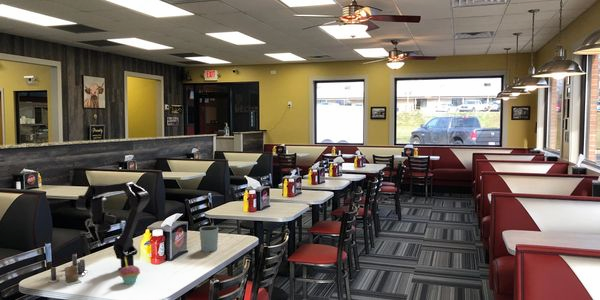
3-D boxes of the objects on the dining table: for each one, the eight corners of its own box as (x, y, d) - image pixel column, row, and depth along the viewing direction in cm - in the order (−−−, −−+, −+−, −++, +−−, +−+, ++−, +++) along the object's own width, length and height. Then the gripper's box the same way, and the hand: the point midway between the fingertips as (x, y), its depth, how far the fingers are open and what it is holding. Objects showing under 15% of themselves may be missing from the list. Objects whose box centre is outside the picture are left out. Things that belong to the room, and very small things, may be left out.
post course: (90, 274, 215) (90, 261, 214) (50, 283, 204) (49, 270, 203) (78, 265, 229) (77, 253, 229) (39, 273, 218) (38, 260, 217)
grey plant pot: (210, 246, 259) (209, 224, 258) (223, 249, 253) (222, 227, 252) (196, 250, 250) (195, 228, 250) (209, 253, 245) (208, 231, 244)
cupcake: (128, 287, 198) (126, 259, 197) (115, 283, 202) (114, 256, 201) (144, 280, 205) (143, 254, 204) (131, 277, 210) (130, 251, 209)
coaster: (81, 282, 205) (81, 281, 205) (66, 285, 201) (66, 284, 201) (77, 278, 209) (77, 277, 209) (62, 282, 205) (62, 281, 205)
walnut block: (68, 283, 202) (67, 269, 202) (65, 280, 205) (64, 267, 205) (78, 281, 205) (77, 267, 205) (75, 278, 208) (74, 265, 208)
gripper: (121, 210, 223) (122, 242, 224) (107, 205, 236) (108, 235, 238) (97, 213, 215) (98, 247, 216) (84, 208, 229) (85, 239, 230)
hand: (98, 242), depth 225 cm, fingers open, 9 cm apart
